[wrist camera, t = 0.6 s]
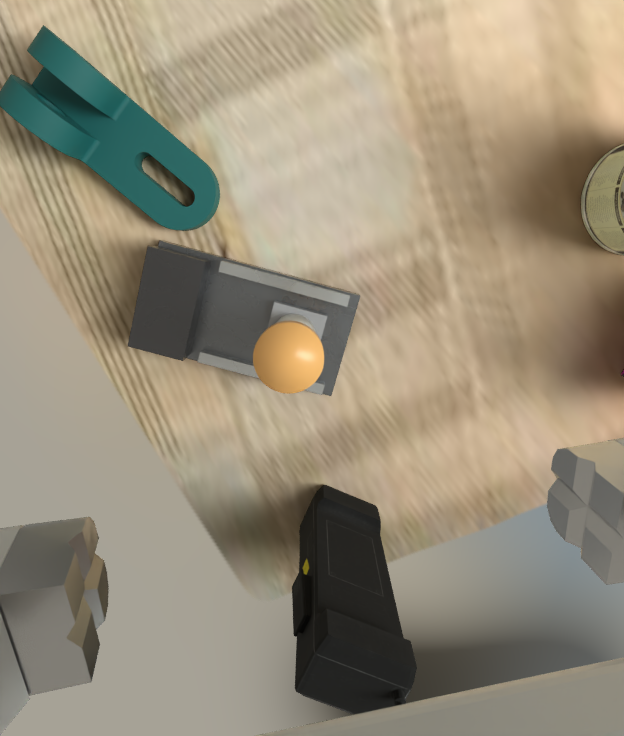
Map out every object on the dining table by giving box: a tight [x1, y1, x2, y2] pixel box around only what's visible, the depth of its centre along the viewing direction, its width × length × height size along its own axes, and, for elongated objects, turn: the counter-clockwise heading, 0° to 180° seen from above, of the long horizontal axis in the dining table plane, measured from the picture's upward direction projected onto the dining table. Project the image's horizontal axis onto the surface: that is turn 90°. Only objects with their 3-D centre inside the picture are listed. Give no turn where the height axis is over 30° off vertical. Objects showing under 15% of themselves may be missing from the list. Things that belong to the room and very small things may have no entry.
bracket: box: [0, 25, 220, 231], centre depth 46 cm, size 18×7×8 cm, turn 50°
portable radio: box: [292, 485, 417, 715], centre depth 45 cm, size 8×6×25 cm
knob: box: [253, 301, 327, 393], centre depth 46 cm, size 5×5×12 cm
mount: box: [128, 241, 360, 396], centre depth 50 cm, size 19×10×5 cm, turn 75°
